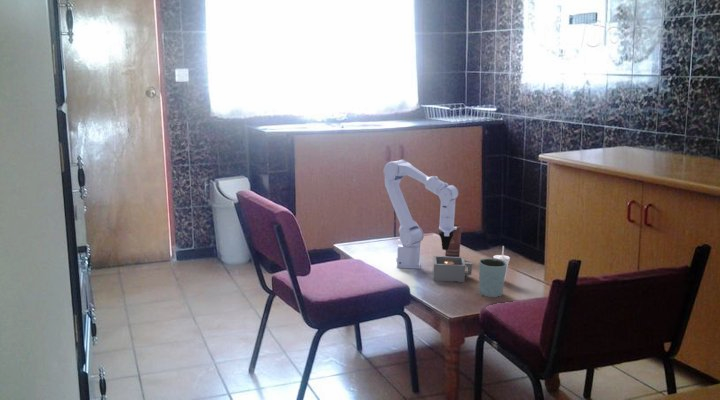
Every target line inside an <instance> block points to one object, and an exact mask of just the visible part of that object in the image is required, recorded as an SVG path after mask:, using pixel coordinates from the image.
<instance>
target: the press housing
mask: <svg viewBox="0 0 720 400" xmlns="http://www.w3.org/2000/svg"><path fill="white" fill-rule="evenodd" d="M444 261H452V262H454V265H452V264H444ZM466 266H467V270H466ZM472 267H473V264H472V262H471V261H470V262H469V261H465V258H464V257H463V256H459V257H447V256H445V255H444V256H441V255H433V259H432V280H433V281H439V282H453V281H458V282H459V283H465V281H466V280H465V279H466V277H465V276H472ZM458 282H457V283H458Z"/></svg>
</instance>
